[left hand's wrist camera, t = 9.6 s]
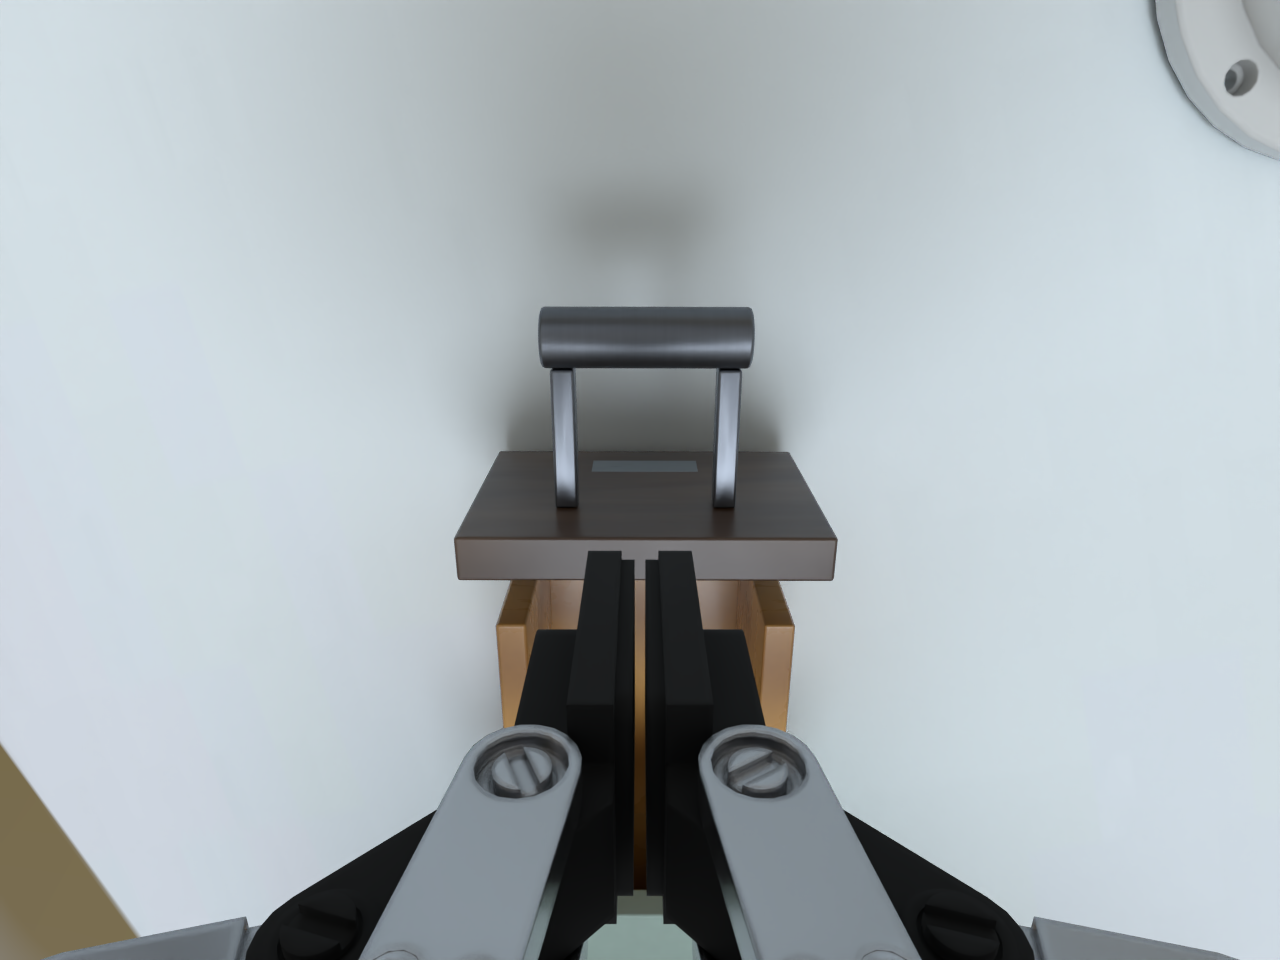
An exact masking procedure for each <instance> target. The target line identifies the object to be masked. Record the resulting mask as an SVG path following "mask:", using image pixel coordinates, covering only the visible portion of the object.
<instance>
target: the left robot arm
mask: <svg viewBox="0 0 1280 960" xmlns="http://www.w3.org/2000/svg"><path fill="white" fill-rule="evenodd" d="M1155 3H1156V15H1157V21H1158V24H1159V28H1160V32H1161V35H1162V39H1163V42H1164V46H1165V50H1166V53H1167V57H1168V60H1169V63H1170V64H1171V66H1172V68H1173V70H1174V72H1175V74H1176V76H1177V78H1178V80H1179V81H1180V83H1181V85H1182V87H1183V89H1184V91H1185V93H1186V95H1187V97H1188V98H1189V99H1190V100H1191V101H1192V103H1193V104H1194V105H1195V106H1196V107H1197V108H1198V109H1199V111H1200V112H1201V113H1202V114H1203V115H1204V116H1205V117H1206V118H1207V120H1208V121H1209V122H1210V123H1211V124H1212V125H1213V126H1214V127H1215V128H1217V129H1218V130H1219V131H1221V132H1222V133H1224V134H1225V135H1227V136H1228V137H1230V138H1231V139H1233V140H1234V141H1236V142H1237V143H1239V144H1240V145H1241V146H1243V147H1244V148H1247V149H1249V150H1252V151H1255V152H1258V153H1260V154H1263V155H1266V156H1268V157H1271V158H1274V159H1277V160H1279V161H1280V0H1155ZM1225 78H1226V80H1225ZM1224 82H1225V85H1224ZM634 776H635V559H622V551H588V555H587V562H586V569H585V576H584V583H583V590H582V597H581V604H580V612H579V619H578V626H577V629H538V630H537V632H536V635H535V638H534V643H533V647H532V651H531V656H530V660H529V664H528V669H527V673H526V677H525V681H524V686H523V690H522V694H521V699H520V703H519V707H518V712H517V716H516V720H515V725H514V726H512V727H507V728H503V729H500V730H498V731H496V732H494V733H491V734H489V735H487V736H485V737H484V738H483V739H481V740H480V741H479V742H477V743H476V744H475V745H473V747H472V748H471V749H470V751H469V752H468V753H467V754H466V756H465V757H464V759H463V761H462V763H461V765H460V767H459V768H458V770H457V772H456V774H455V776H454V778H453V780H452V782H451V784H450V786H449V788H448V789H447V791H446V793H445V795H444V797H443V799H442V801H441V803H440V805H439V807H438V809H437V810H435V811H434V812H432V813H430V814H429V815H427V816H426V817H424V818H422V819H421V820H419V821H417V822H416V823H414V824H412V825H411V826H409V827H407V828H406V829H404V830H403V831H401V832H399V833H398V834H396V835H394V836H393V837H391V838H389V839H388V840H386V841H384V842H383V843H381V844H380V845H378V846H376V847H375V848H373V849H371V850H370V851H368V852H366V853H365V854H363V855H361V856H360V857H358V858H356V859H355V860H353V861H352V862H350V863H348V864H347V865H345V866H343V867H342V868H340V869H338V870H337V871H335V872H333V873H332V874H330V875H329V876H327V877H325V878H324V879H322V880H320V881H319V882H317V883H315V884H314V885H312V886H310V887H309V888H307V889H306V890H304V891H302V892H301V893H299V894H297V895H296V896H294V897H292V898H291V899H290V900H288V901H287V902H286V903H285V904H283V905H282V906H281V907H279V908H278V909H277V910H275V911H274V912H273V913H272V914H271V915H270V916H269V917H268V919H267V920H266V921H265V922H264V923H263V924H262V925H260V926H255V927H250V928H249V927H248V923H247V919H246V917H241V918H236V919H231V920H226V921H221V922H216V923H211V924H206V925H200V926H195V927H190V928H185V929H180V930H175V931H170V932H165V933H160V934H155V935H150V936H145V937H140V938H134V939H130V940H125V941H119V942H114V943H109V944H104V945H99V946H94V947H89V948H84V949H79V950H74V951H68V952H63V953H60V954H57V955H54V956H51V957H48V958H45V959H42V960H587V958H588V938H590V937H591V936H592V935H593V934H594V933H595V932H597V931H598V930H599V929H600V928H601V927H602V926H604V925H605V924H617V898H618V896H633V883H634ZM645 776H646V883H647V896H662V898H663V924H675V925H676V926H678V927H679V928H680V929H681V930H682V931H683V932H685V933H686V934H687V935H688V936H689V937H690V938H692V958H693V960H1238V959H1235V958H1232V957H1229V956H1226V955H1223V954H1220V953H1217V952H1212V951H1206V950H1201V949H1196V948H1191V947H1186V946H1181V945H1176V944H1171V943H1166V942H1161V941H1156V940H1151V939H1146V938H1140V937H1135V936H1130V935H1125V934H1120V933H1115V932H1110V931H1105V930H1100V929H1095V928H1090V927H1085V926H1080V925H1074V924H1069V923H1064V922H1059V921H1054V920H1049V919H1044V918H1039V917H1034V919H1033V923H1032V927H1031V928H1030V927H1025V926H1020V925H1018V924H1017V923H1016V922H1015V921H1014V920H1013V919H1012V917H1011V916H1010V915H1009V914H1008V913H1007V912H1006V911H1005V910H1003V909H1002V908H1001V907H999V906H998V905H997V904H995V903H994V902H993V901H992V900H990V899H989V898H988V897H986V896H984V895H983V894H981V893H979V892H978V891H976V890H974V889H973V888H971V887H970V886H968V885H966V884H965V883H963V882H961V881H960V880H958V879H956V878H955V877H953V876H951V875H950V874H948V873H947V872H945V871H943V870H942V869H940V868H938V867H937V866H935V865H933V864H932V863H930V862H928V861H927V860H925V859H924V858H922V857H920V856H919V855H917V854H915V853H914V852H912V851H910V850H909V849H907V848H905V847H904V846H902V845H900V844H899V843H897V842H896V841H894V840H892V839H891V838H889V837H887V836H886V835H884V834H882V833H881V832H879V831H877V830H876V829H874V828H873V827H871V826H869V825H868V824H866V823H864V822H863V821H861V820H859V819H858V818H856V817H854V816H853V815H851V814H850V813H848V812H846V811H845V810H843V809H842V807H841V805H840V803H839V801H838V799H837V797H836V795H835V793H834V791H833V789H832V788H831V786H830V784H829V782H828V780H827V778H826V776H825V774H824V772H823V770H822V768H821V767H820V765H819V763H818V761H817V759H816V757H815V756H814V754H813V753H812V752H811V751H810V749H809V748H808V747H807V745H805V744H804V743H803V742H801V741H800V740H799V739H797V738H796V737H795V736H793V735H791V734H789V733H786V732H784V731H782V730H780V729H777V728H773V727H768V726H766V725H765V720H764V716H763V712H762V707H761V703H760V699H759V694H758V690H757V686H756V681H755V677H754V673H753V669H752V664H751V660H750V656H749V651H748V647H747V643H746V638H745V635H744V632H743V630H742V629H703V626H702V619H701V612H700V604H699V597H698V590H697V583H696V576H695V569H694V562H693V555H692V551H658V559H645Z"/></svg>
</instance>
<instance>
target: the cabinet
mask: <svg viewBox="0 0 1280 960" xmlns="http://www.w3.org/2000/svg"><path fill="white" fill-rule="evenodd" d="M587 960H693V958H692V938H690V937H689V936H688V935H687V934H686V933H685V932H683V931H682V930H681V929H680V928H679V927H678V926H676V925H675V924H663V898H662V896H647V890H633V896H618V898H617V924H605V925H604V926H602V927H601V928H600V929H599V930H598V931H597V932H595V933H594V934H593V935H592V936H591V937H590V938H588V958H587Z"/></svg>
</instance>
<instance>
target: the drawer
mask: <svg viewBox="0 0 1280 960" xmlns="http://www.w3.org/2000/svg"><path fill="white" fill-rule="evenodd" d="M754 339H755V326H754V315H753V312H752V309H751V308H749V307H543V308H541V310H540V314H539V323H538V343H539V355H540V361H541V364H542V366H543V367H544V368H552V369H551V371H550V382H551V407H552V432H553V451H501V452H499V454H498V456H497V458H496V460H495V462H494V464H493V465H492V467H491V469H490V471H489V473H488V475H487V477H486V479H485V481H484V483H483V484H482V486H481V488H480V490H479V492H478V494H477V496H476V498H475V500H474V502H473V503H472V505H471V507H470V509H469V511H468V513H467V515H466V517H465V519H464V521H463V522H462V524H461V526H460V528H459V530H458V532H457V534H456V536H455V538H454V545H455V555H456V566H457V577H458V579H459V580H511V581H510V584H509V587H508V590H507V593H506V596H505V599H504V603H503V606H502V609H501V612H500V615H499V618H498V621H497V624H496V635H497V649H498V662H499V675H500V689H501V702H502V716H503V728H507V727H512V726H514V725H515V720H516V716H517V712H518V707H519V703H520V699H521V694H522V690H523V686H524V681H525V677H526V673H527V669H528V664H529V660H530V656H531V651H532V647H533V643H534V638H535V635H536V632H537V630H538V629H577V626H578V619H579V612H580V604H581V597H582V590H583V583H584V576H585V569H586V562H587V555H588V551H622V559H635V776H634V883H633V890H647V883H646V776H645V559H658V551H692V555H693V562H694V569H695V576H696V583H697V590H698V597H699V604H700V612H701V619H702V626H703V629H742V630H743V632H744V635H745V638H746V643H747V647H748V651H749V656H750V660H751V664H752V669H753V673H754V677H755V681H756V686H757V690H758V694H759V699H760V703H761V707H762V712H763V716H764V720H765V725H766V726H768V727H773V728H777V729H780V730H782V731H784V732H786V725H787V713H788V701H789V690H790V678H791V666H792V655H793V643H794V631H795V625H794V622H793V620H792V617H791V614H790V611H789V608H788V605H787V602H786V600H785V597H784V594H783V591H782V588H781V585H780V582H779V581H832V580H833V578H834V571H835V561H836V551H837V542H838V540H837V537H836V535H835V534H834V532H833V530H832V528H831V526H830V525H829V523H828V521H827V519H826V517H825V516H824V514H823V512H822V510H821V508H820V507H819V505H818V503H817V501H816V500H815V498H814V496H813V494H812V492H811V491H810V489H809V487H808V485H807V483H806V482H805V480H804V478H803V476H802V474H801V473H800V471H799V469H798V467H797V465H796V464H795V462H794V460H793V458H792V457H791V455H790V453H789V452H738V444H739V424H740V404H741V384H742V371H741V369H740V368H749V367H750V365H751V363H752V359H753V353H754ZM576 368H716V393H715V419H714V445H713V452H578V439H577V404H576Z"/></svg>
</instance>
